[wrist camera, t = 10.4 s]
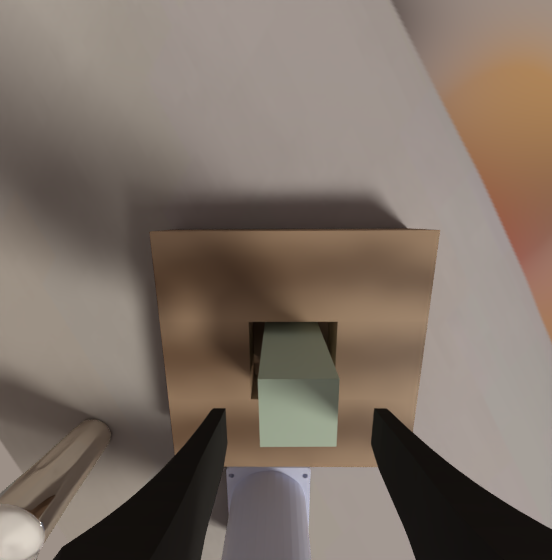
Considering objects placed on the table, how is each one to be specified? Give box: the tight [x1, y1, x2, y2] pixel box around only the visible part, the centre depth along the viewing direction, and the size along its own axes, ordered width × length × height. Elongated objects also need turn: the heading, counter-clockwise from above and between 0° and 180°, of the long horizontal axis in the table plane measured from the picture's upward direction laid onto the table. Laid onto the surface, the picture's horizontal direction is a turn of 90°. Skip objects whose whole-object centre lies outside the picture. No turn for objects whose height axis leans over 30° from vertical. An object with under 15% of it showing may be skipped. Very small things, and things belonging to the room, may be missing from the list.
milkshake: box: [0, 419, 111, 560], centre depth 19 cm, size 4×5×10 cm
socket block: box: [149, 228, 440, 467], centre depth 20 cm, size 18×18×4 cm
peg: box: [258, 322, 340, 447], centre depth 17 cm, size 4×4×8 cm
